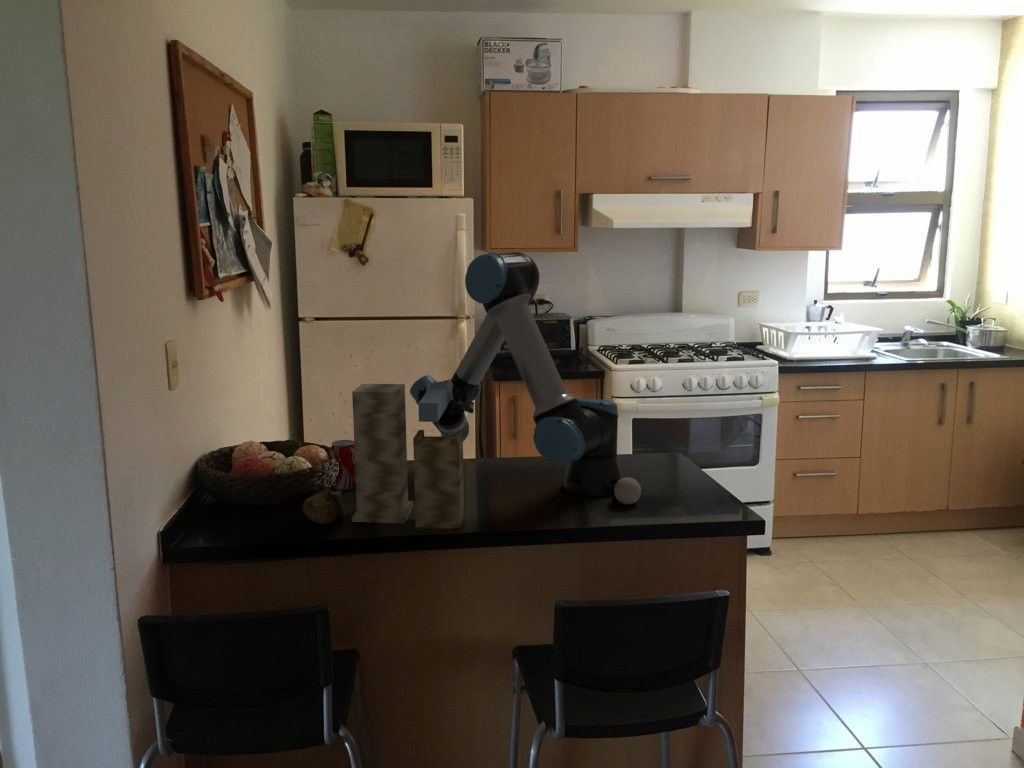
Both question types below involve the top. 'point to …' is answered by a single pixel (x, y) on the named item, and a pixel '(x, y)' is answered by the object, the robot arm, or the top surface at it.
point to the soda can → (344, 464)
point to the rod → (434, 403)
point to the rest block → (438, 480)
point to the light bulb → (627, 490)
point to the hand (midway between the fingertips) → (438, 385)
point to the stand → (380, 453)
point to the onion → (321, 506)
